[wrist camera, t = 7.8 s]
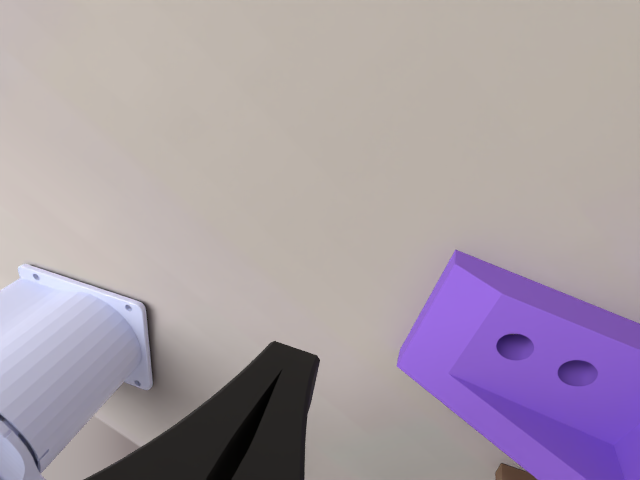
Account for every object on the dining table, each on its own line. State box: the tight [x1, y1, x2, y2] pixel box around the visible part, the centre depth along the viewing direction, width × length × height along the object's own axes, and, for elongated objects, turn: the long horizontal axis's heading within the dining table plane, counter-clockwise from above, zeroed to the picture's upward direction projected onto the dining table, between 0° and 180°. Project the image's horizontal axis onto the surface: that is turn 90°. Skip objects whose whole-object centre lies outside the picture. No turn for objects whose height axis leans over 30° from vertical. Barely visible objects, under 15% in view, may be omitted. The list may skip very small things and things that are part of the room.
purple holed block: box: [397, 250, 640, 480], centre depth 18 cm, size 12×7×7 cm, turn 74°
